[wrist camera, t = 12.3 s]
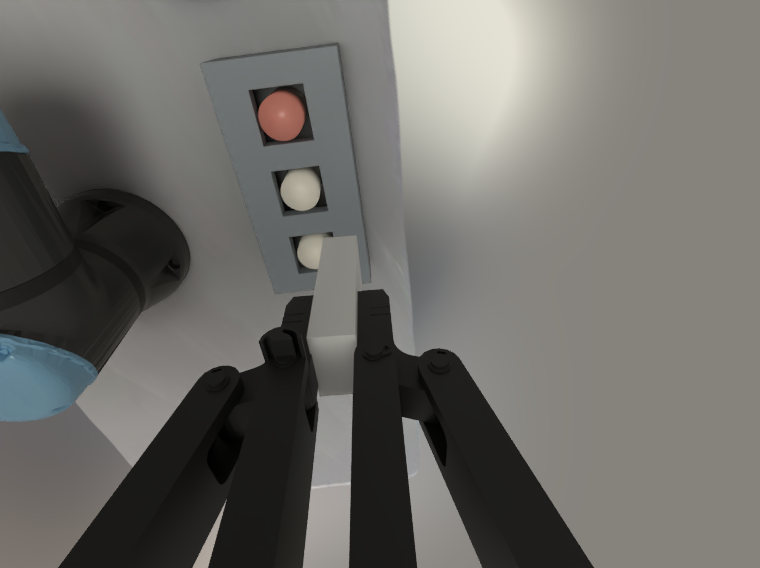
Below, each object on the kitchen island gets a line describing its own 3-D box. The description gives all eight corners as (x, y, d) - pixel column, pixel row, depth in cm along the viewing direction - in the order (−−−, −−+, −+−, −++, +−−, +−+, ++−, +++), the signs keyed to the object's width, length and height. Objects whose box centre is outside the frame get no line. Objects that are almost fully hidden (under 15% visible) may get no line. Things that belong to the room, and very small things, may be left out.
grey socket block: (370, 261, 51) (371, 282, 47) (281, 272, 52) (275, 294, 47) (338, 42, 37) (336, 45, 33) (216, 58, 37) (199, 63, 33)
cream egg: (325, 191, 45) (322, 208, 41) (291, 196, 45) (286, 212, 41) (318, 157, 43) (315, 171, 39) (283, 162, 43) (276, 176, 39)
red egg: (311, 126, 40) (306, 138, 36) (273, 131, 40) (265, 143, 36) (303, 84, 38) (297, 91, 34) (263, 89, 38) (252, 97, 34)
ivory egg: (336, 247, 49) (334, 267, 45) (305, 251, 49) (301, 271, 45) (330, 219, 47) (328, 237, 43) (298, 222, 47) (293, 241, 43)
